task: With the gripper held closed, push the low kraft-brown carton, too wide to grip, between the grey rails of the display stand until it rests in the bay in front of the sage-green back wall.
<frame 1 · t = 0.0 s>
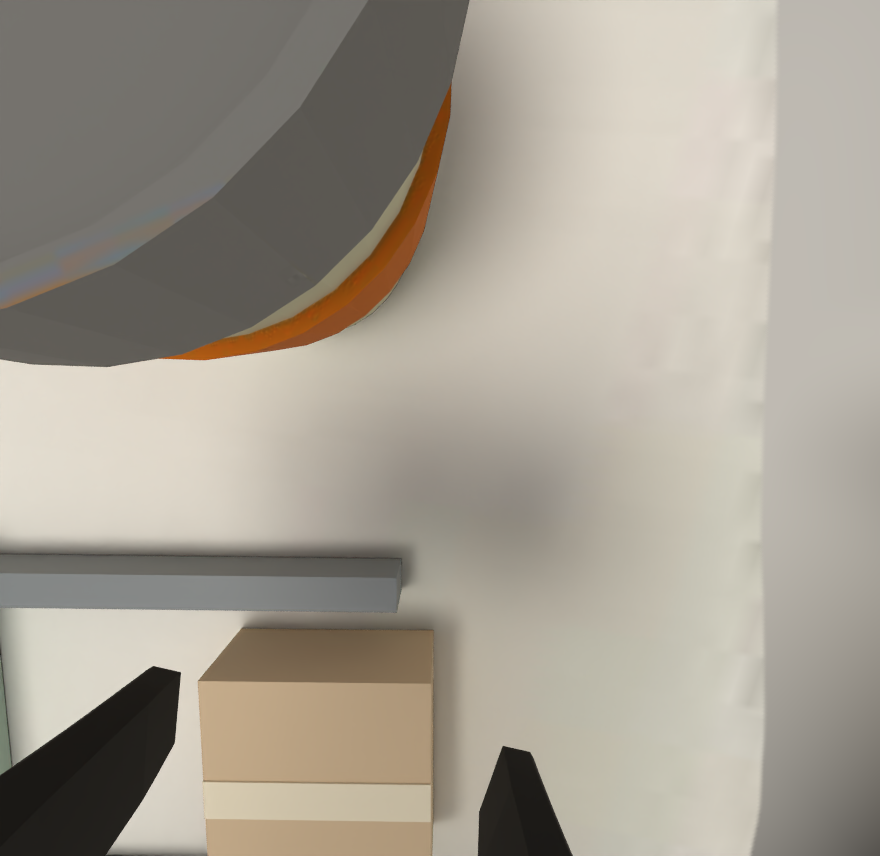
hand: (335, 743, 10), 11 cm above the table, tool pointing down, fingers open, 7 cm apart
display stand: (131, 726, 21), on the table
reusable coffee cup: (308, 230, 19), on the table
carton: (341, 722, 21), on the table
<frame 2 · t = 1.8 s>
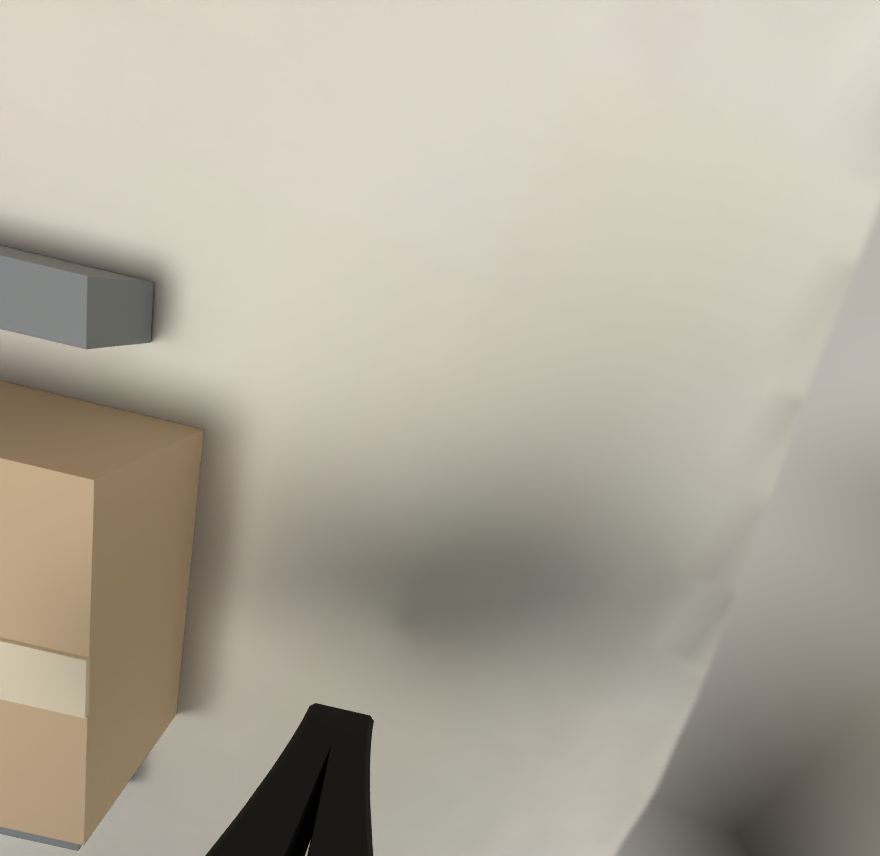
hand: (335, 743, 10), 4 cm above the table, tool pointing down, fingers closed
carton: (50, 545, 13), on the table
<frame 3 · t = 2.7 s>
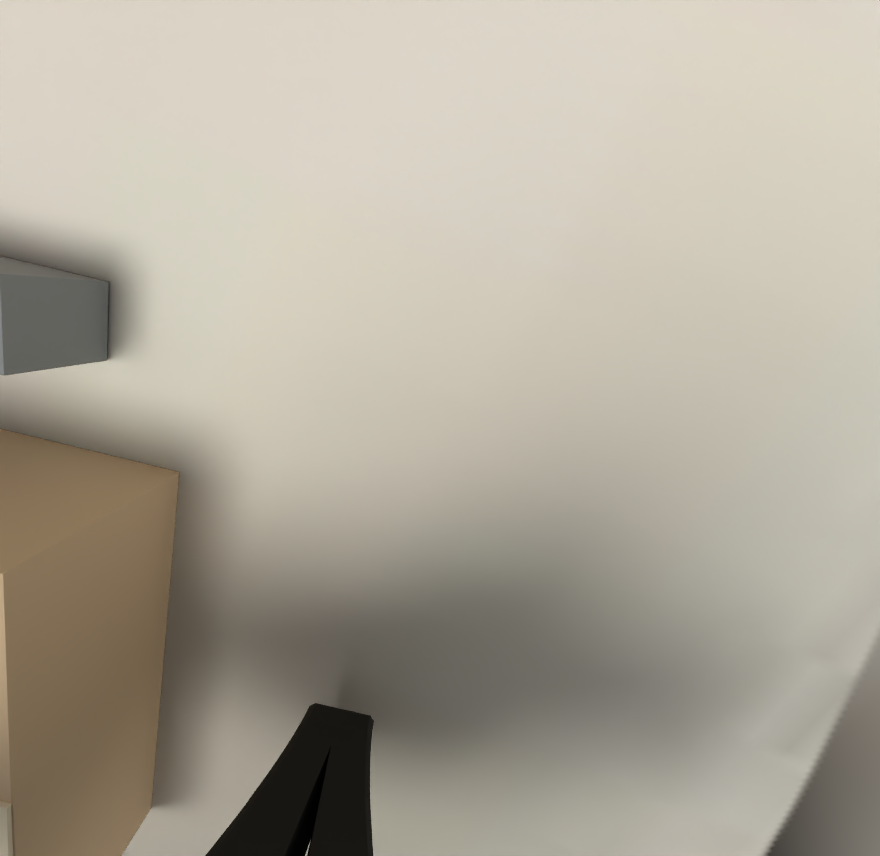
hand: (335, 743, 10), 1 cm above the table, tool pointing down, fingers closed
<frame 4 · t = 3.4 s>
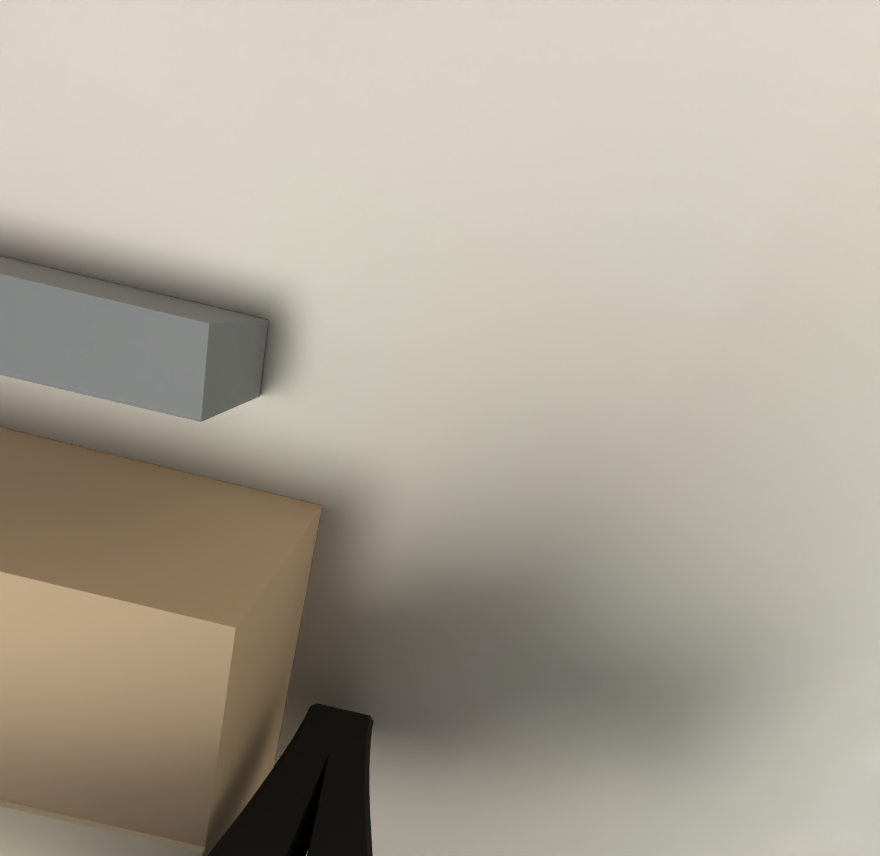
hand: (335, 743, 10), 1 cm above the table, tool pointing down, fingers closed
carton: (115, 636, 11), on the table, touching gripper
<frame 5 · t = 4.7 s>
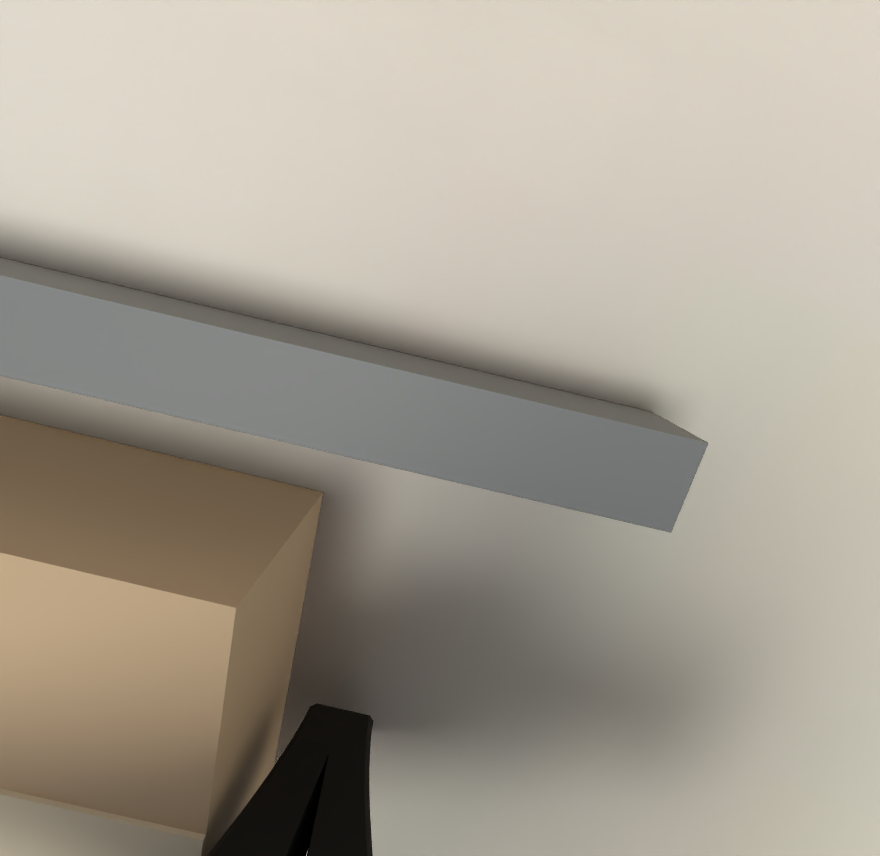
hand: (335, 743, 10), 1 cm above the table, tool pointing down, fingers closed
carton: (114, 627, 11), on the table, touching gripper
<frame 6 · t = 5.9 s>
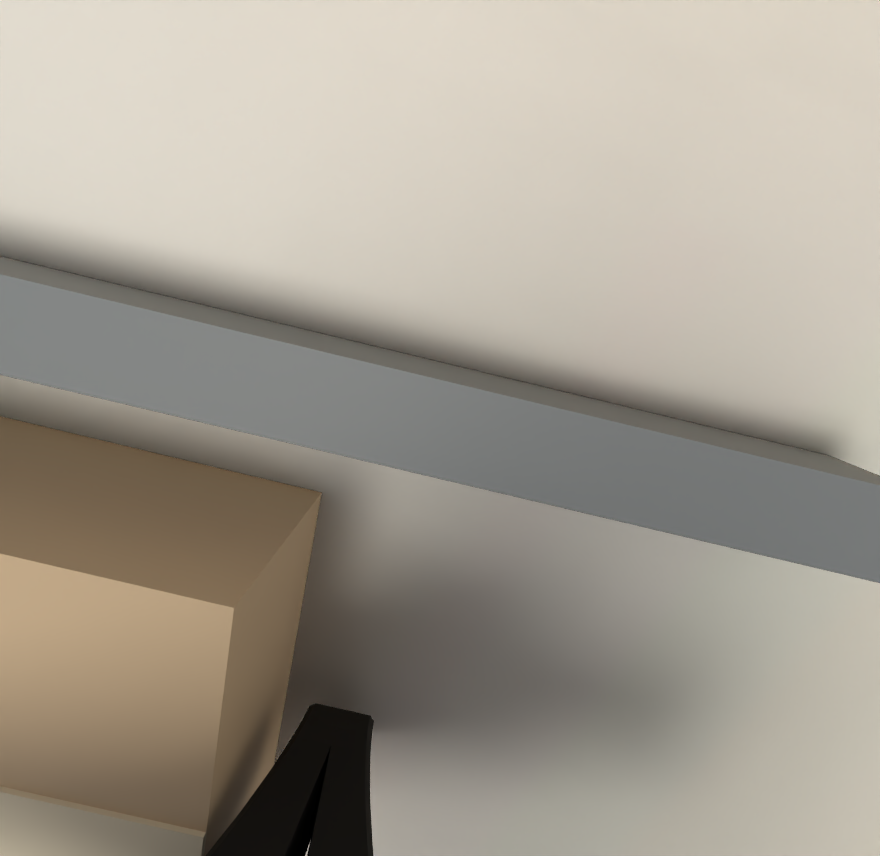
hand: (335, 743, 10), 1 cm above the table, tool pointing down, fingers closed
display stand: (142, 657, 10), on the table
carton: (115, 626, 11), on the table
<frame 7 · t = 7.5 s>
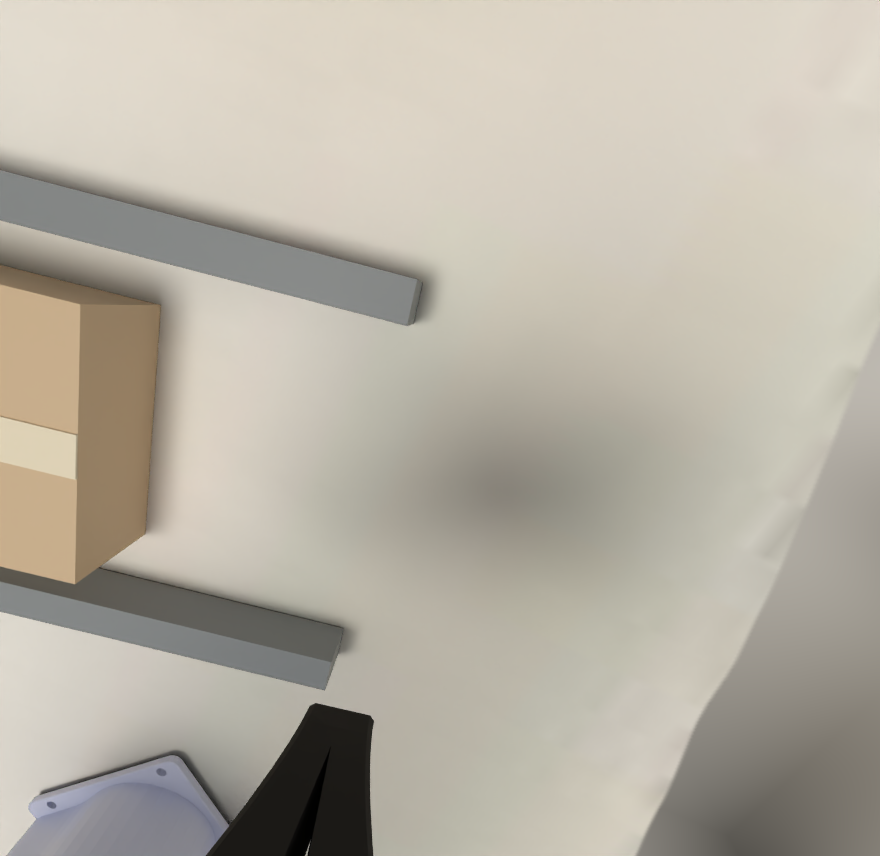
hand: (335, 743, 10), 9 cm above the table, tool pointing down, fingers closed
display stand: (66, 414, 18), on the table
carton: (51, 399, 18), on the table
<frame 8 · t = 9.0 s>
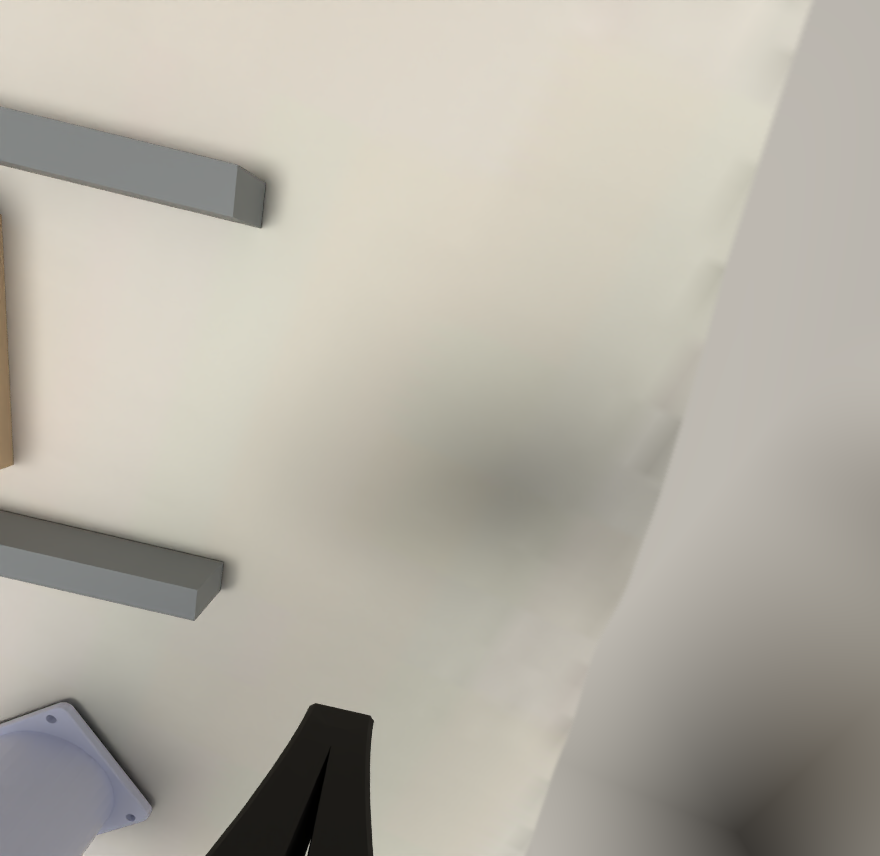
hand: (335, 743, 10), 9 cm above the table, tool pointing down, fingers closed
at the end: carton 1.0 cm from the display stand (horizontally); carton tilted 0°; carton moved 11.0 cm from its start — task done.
